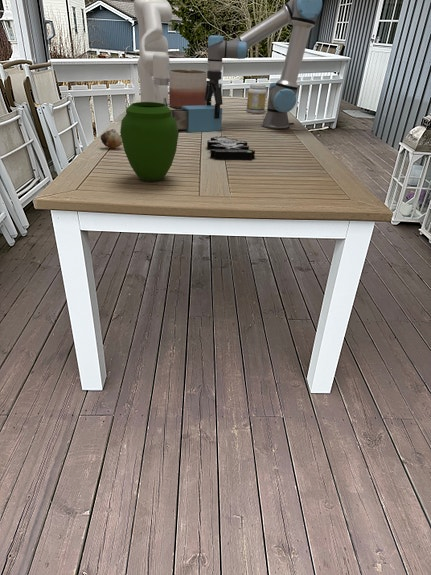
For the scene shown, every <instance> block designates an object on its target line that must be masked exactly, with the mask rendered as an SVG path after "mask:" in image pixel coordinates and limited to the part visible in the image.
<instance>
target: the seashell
mask: <svg viewBox="0 0 431 575" xmlns="http://www.w3.org/2000/svg"><path fill="white" fill-rule="evenodd" d="M100 140H101V143H102V144H103V145H104V146H105V147H107V148H110V149H116V148H119V147H120V146H122V145H123V142H122V138H121V134H119V133H118V132H117V131H116V129H114V128H112V129H109V130H106V131H104V132H103V133H102V134H101V135H100Z"/></svg>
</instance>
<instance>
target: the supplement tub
mask: <svg viewBox="0 0 431 575" xmlns="http://www.w3.org/2000/svg"><path fill="white" fill-rule="evenodd" d="M266 87H267V86H266V84H264V83H250V84H249V88H248V90H247V102H246V111H247V112H248V113H250V114H251V113H252V114H263V113H265V110H266V101H267V100H266V99H267V89H266Z"/></svg>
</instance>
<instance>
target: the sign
mask: <svg viewBox="0 0 431 575" xmlns="http://www.w3.org/2000/svg"><path fill="white" fill-rule="evenodd" d="M206 148H207V149H208V150H209V153H210V154H209V155H210V158H211V159H214V160H246V161H247V160H249V161H250V160H252V159H255V156H256V155H255V154H256V150H255V149H250V146H249V145H248V142H247V141H246V140H238V139H237V138H228V137H227V136H226V135H220V136H213V137H210V140H207V143H206Z"/></svg>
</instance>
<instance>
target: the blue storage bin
mask: <svg viewBox="0 0 431 575" xmlns="http://www.w3.org/2000/svg"><path fill="white" fill-rule="evenodd" d="M182 109H185V110H187V111H188V129H183V130H184V131H185V132H188V133H200V132H201V133H203V132H221V131H222V125H223V124H222V122H223V107H220V117H219V119H214V113H215V104H211V105H198V106H182Z"/></svg>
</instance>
